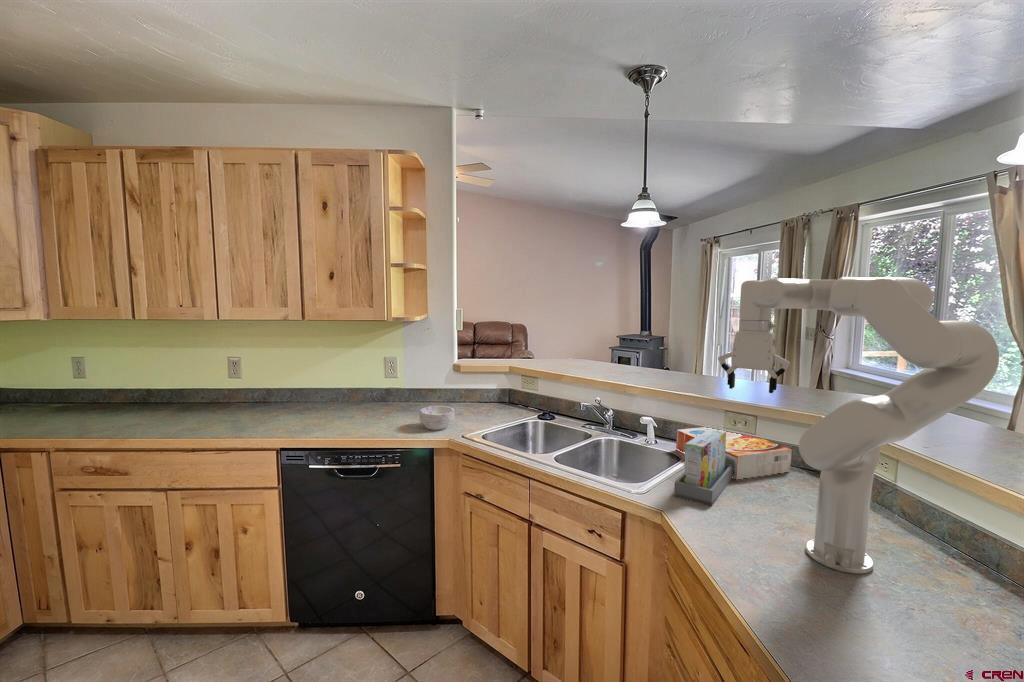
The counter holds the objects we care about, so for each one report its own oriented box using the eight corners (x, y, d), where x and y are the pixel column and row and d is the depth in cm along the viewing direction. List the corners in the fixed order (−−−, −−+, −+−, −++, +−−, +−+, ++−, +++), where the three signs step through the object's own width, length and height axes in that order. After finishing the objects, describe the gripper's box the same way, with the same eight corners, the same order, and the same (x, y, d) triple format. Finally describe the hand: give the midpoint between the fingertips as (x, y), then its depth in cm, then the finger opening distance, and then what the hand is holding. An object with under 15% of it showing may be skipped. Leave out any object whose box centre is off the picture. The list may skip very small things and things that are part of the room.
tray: (711, 506, 131) (712, 491, 130) (673, 496, 137) (674, 481, 137) (732, 478, 151) (733, 464, 151) (698, 470, 158) (699, 457, 157)
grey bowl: (451, 432, 197) (451, 414, 196) (416, 432, 197) (416, 413, 196) (456, 422, 212) (456, 405, 211) (423, 422, 212) (423, 405, 212)
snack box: (707, 471, 154) (710, 427, 152) (725, 476, 150) (728, 430, 149) (682, 491, 138) (684, 442, 137) (701, 497, 135) (703, 446, 133)
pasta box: (737, 456, 149) (676, 429, 177) (736, 480, 150) (675, 450, 178) (791, 449, 156) (725, 425, 184) (790, 472, 157) (723, 444, 185)
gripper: (794, 327, 121) (790, 392, 123) (723, 325, 132) (720, 384, 133) (790, 329, 115) (786, 396, 117) (716, 326, 126) (713, 388, 127)
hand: (751, 390), depth 125 cm, fingers open, 9 cm apart
